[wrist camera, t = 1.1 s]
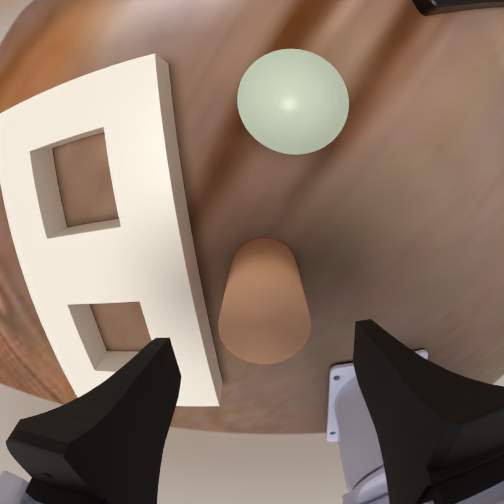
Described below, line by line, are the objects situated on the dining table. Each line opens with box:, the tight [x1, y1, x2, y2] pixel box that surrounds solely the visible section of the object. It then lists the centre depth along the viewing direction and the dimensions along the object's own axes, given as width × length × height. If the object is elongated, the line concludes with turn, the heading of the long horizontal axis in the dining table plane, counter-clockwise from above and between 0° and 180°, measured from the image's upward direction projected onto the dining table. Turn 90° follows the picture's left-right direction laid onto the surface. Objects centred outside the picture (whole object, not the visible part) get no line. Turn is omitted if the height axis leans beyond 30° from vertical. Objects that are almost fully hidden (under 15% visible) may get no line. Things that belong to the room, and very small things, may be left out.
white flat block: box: [0, 54, 223, 406], centre depth 18 cm, size 22×12×2 cm, turn 7°
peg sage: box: [237, 49, 349, 154], centre depth 13 cm, size 4×4×6 cm
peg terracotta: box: [218, 238, 311, 364], centre depth 17 cm, size 4×4×6 cm
